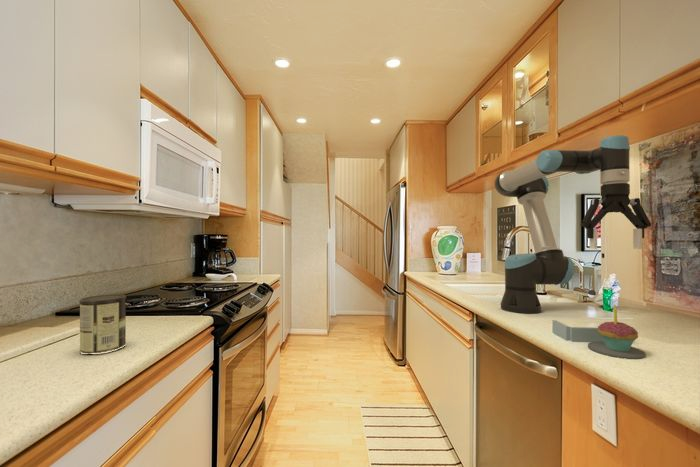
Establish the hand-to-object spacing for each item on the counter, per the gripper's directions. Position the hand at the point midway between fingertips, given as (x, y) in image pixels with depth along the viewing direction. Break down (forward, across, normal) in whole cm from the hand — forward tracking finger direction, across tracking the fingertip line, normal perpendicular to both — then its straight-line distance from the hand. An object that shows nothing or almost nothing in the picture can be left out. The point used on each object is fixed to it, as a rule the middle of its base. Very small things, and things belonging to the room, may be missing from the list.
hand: (615, 248), depth 110 cm
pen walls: (+27, -14, -9) cm, 31 cm away
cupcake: (+26, -14, -21) cm, 36 cm away
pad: (+27, -14, -21) cm, 37 cm away
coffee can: (+27, -152, -32) cm, 158 cm away
